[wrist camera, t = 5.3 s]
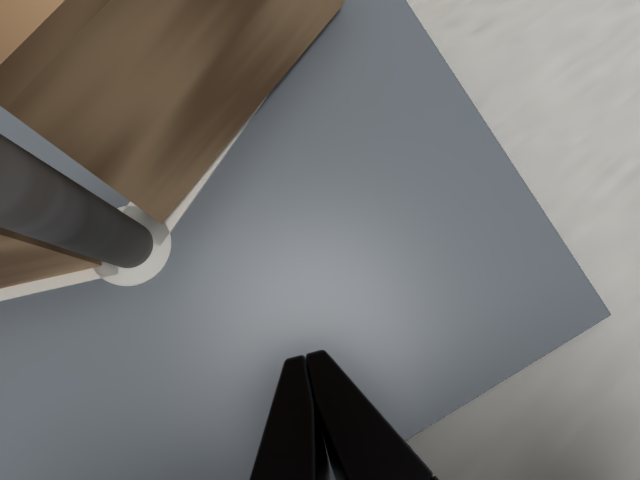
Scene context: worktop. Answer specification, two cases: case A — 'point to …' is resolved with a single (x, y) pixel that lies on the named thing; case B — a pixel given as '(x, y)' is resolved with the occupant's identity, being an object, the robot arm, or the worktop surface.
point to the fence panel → (148, 80)
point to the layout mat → (294, 274)
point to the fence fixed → (58, 223)
